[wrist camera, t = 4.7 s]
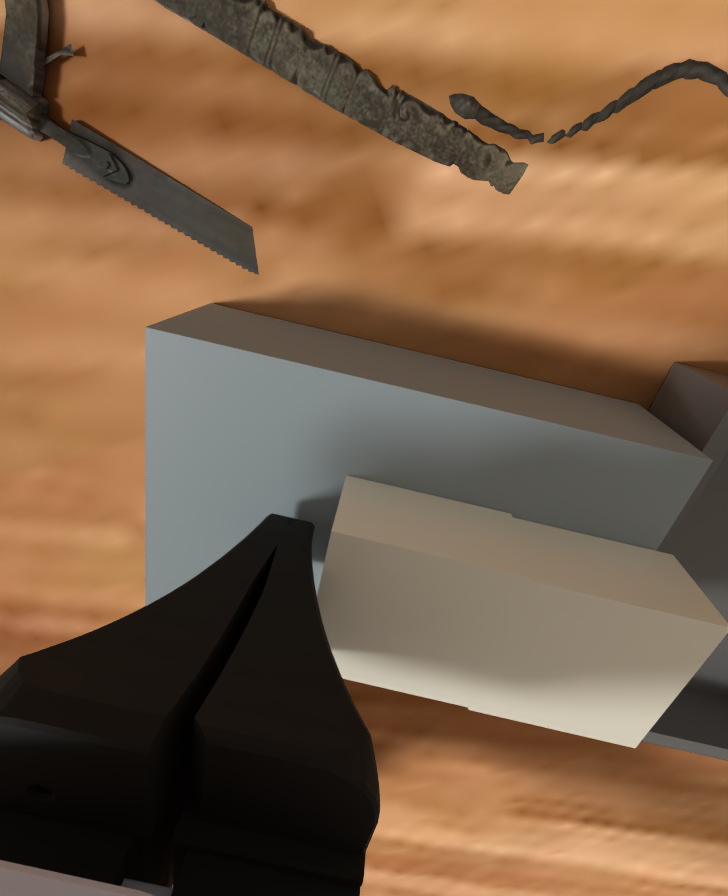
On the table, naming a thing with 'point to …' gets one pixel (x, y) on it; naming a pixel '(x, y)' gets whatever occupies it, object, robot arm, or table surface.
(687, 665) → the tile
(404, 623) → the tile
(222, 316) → the gray rectangular block
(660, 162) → the table surface
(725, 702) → the box
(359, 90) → the hacksaw
